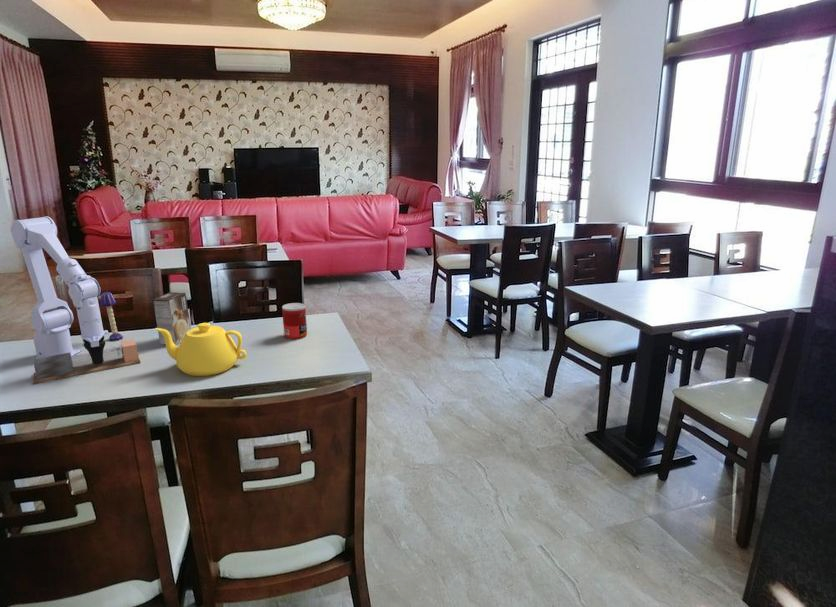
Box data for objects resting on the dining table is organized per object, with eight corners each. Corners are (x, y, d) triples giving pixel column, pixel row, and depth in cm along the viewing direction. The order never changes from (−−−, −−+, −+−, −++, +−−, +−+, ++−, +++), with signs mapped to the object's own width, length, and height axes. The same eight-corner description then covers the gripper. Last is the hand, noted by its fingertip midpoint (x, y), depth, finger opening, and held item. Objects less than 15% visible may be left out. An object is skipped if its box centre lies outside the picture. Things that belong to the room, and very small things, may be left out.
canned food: (304, 339, 187) (302, 309, 184) (281, 339, 187) (279, 309, 184) (309, 332, 194) (307, 302, 191) (287, 332, 194) (284, 302, 191)
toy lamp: (112, 342, 185) (103, 295, 180) (104, 340, 187) (95, 293, 183) (125, 338, 189) (117, 292, 184) (117, 335, 191) (109, 290, 187)
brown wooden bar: (33, 384, 154) (29, 366, 152) (34, 374, 160) (30, 357, 159) (140, 363, 168) (137, 346, 166) (137, 354, 174) (134, 339, 173)
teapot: (153, 381, 155) (145, 337, 151) (169, 358, 172) (163, 317, 168) (243, 375, 159) (239, 331, 155) (251, 353, 176) (247, 312, 172)
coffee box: (176, 335, 192) (169, 291, 187) (192, 336, 190) (186, 292, 186) (159, 344, 183) (152, 299, 178) (176, 345, 182) (169, 300, 177)
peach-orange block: (125, 362, 167) (122, 347, 165) (123, 357, 171) (120, 341, 170) (138, 360, 169) (136, 344, 167) (136, 354, 173) (134, 339, 172)
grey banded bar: (48, 372, 157) (46, 363, 156) (49, 368, 160) (47, 359, 159) (122, 358, 167) (120, 349, 166) (121, 355, 169) (119, 346, 169)
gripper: (107, 323, 157) (115, 366, 161) (103, 310, 169) (111, 351, 173) (79, 328, 154) (87, 372, 158) (77, 314, 165) (85, 356, 169)
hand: (98, 361), depth 165 cm, fingers closed on grey banded bar, 3 cm apart
